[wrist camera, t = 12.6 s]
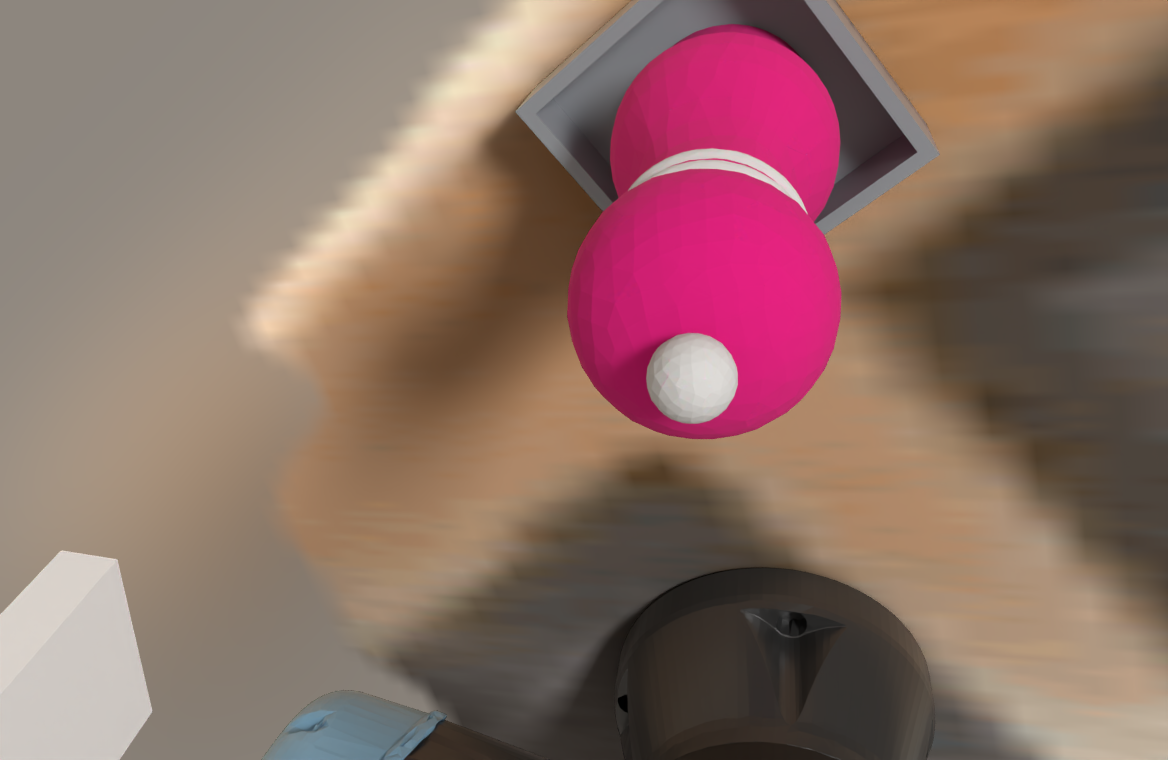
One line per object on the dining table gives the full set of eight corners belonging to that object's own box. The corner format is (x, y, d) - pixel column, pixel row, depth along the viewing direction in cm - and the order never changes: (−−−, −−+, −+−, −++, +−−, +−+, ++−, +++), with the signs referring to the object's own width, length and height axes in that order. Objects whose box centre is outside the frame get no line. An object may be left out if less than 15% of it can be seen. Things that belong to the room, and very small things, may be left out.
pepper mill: (844, 193, 37) (906, 537, 20) (649, 226, 39) (551, 567, 22) (819, -14, 34) (867, 184, 17) (607, 32, 36) (453, 253, 18)
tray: (704, 282, 41) (699, 321, 38) (536, 86, 38) (515, 111, 35) (926, 124, 36) (940, 154, 33) (753, -111, 34) (751, -101, 31)
